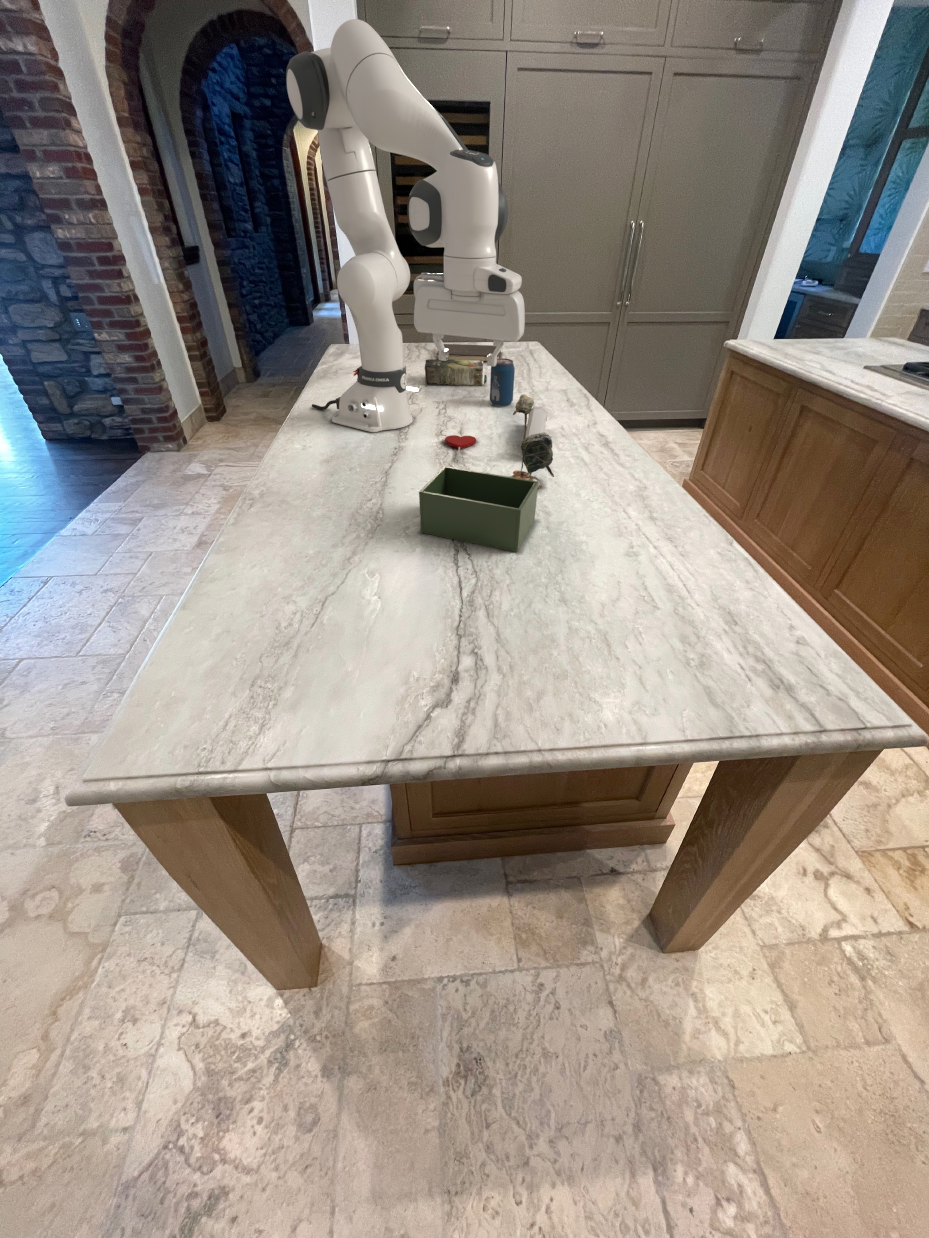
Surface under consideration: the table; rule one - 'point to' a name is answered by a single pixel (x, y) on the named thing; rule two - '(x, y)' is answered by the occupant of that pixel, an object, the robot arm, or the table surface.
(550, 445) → the plant with pod
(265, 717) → the table surface
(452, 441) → the lollipop
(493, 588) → the table surface
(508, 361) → the soda can
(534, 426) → the white square bar
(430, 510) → the bin
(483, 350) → the hardcover book
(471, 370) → the juice carton
